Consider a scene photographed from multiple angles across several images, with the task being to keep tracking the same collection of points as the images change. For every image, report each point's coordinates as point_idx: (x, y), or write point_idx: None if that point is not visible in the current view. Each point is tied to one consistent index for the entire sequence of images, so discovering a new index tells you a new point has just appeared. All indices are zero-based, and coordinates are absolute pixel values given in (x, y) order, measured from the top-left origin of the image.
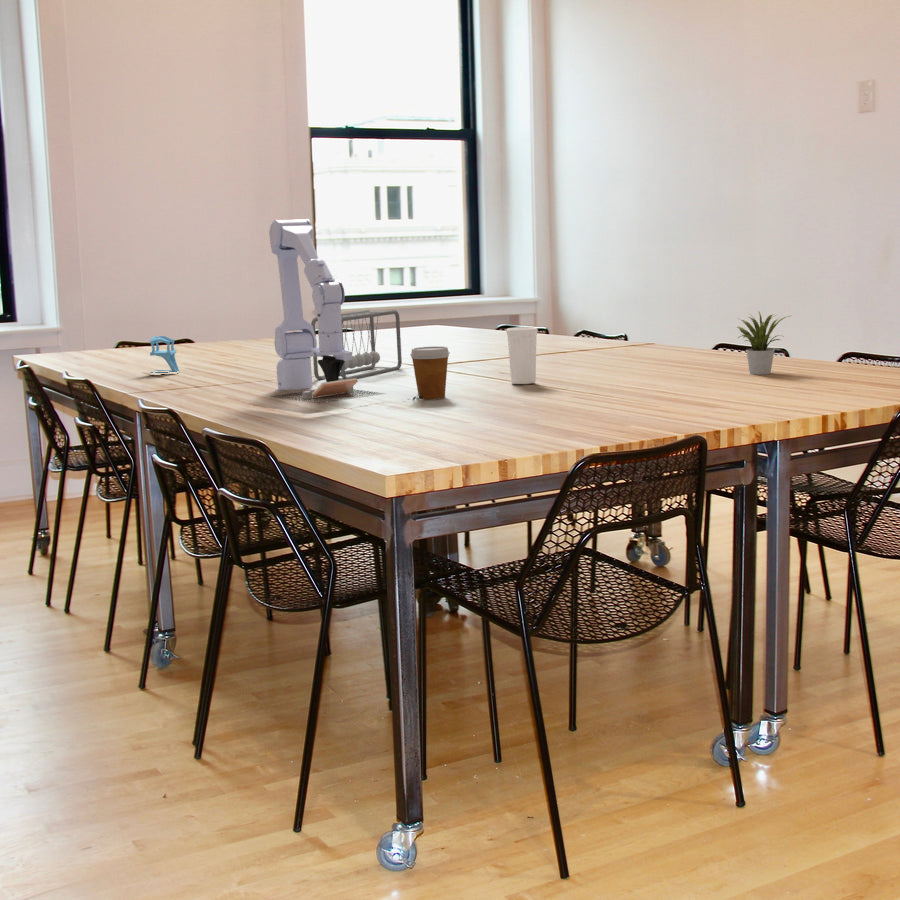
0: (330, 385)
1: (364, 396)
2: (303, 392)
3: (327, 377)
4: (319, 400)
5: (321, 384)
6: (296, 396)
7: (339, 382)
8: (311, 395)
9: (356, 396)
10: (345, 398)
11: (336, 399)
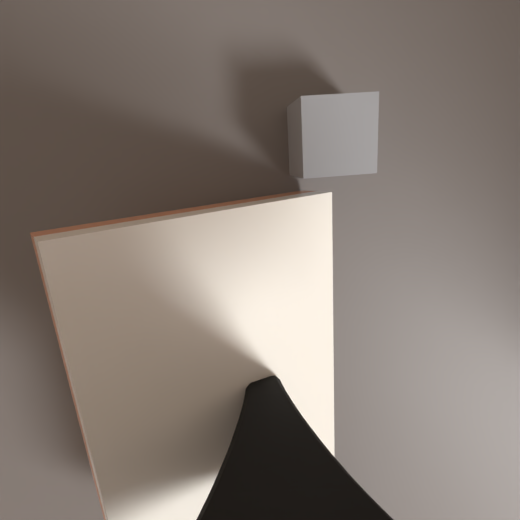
0: (57, 338)
1: (13, 501)
2: (356, 93)
3: (261, 453)
4: (75, 136)
5: (81, 230)
6: (518, 138)
7: (95, 481)
8: (293, 170)
9: (64, 464)
10: (14, 361)
11: (14, 282)
